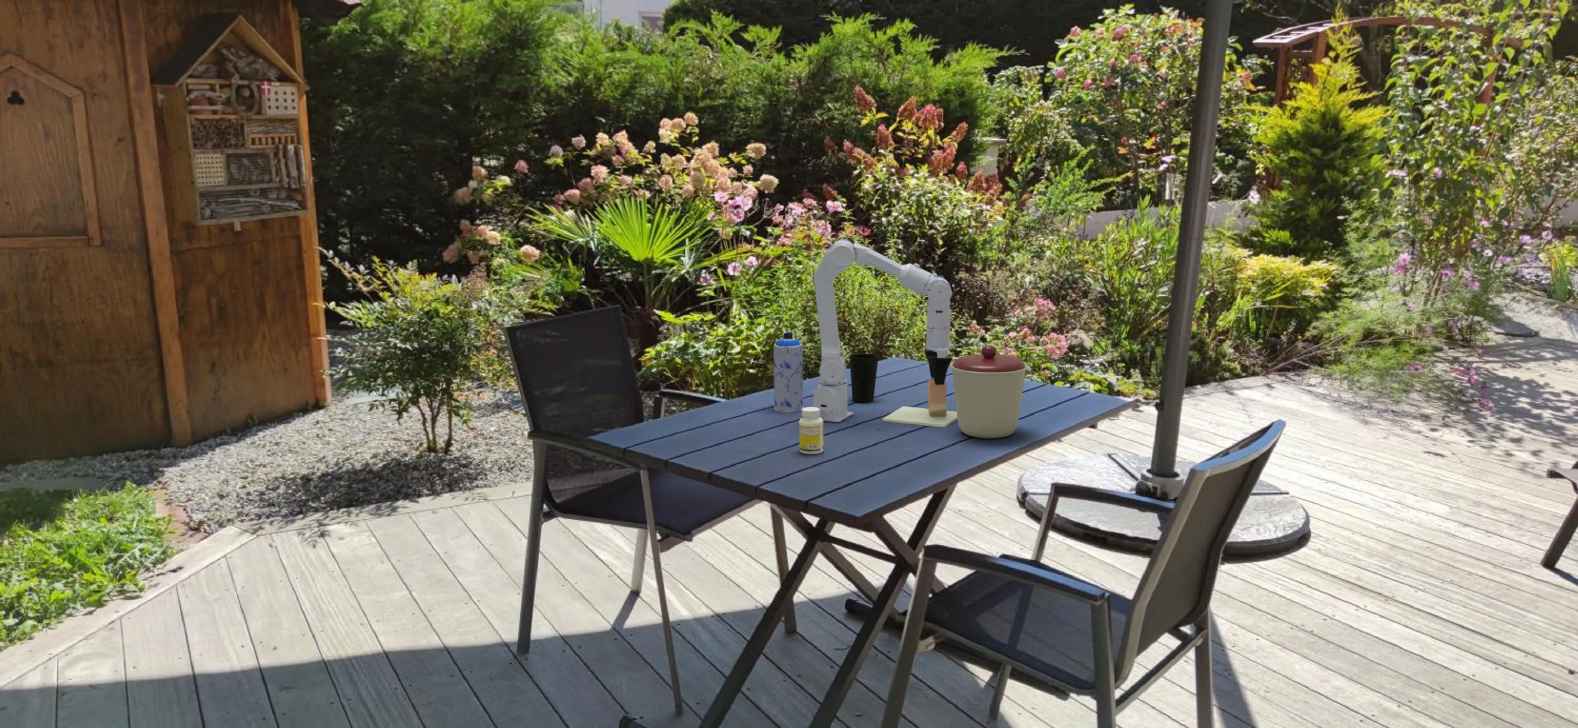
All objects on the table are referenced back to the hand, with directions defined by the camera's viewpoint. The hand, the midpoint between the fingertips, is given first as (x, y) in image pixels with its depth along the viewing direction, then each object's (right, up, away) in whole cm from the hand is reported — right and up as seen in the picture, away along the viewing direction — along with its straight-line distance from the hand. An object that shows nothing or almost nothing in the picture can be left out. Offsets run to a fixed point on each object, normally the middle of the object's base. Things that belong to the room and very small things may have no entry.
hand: (937, 381), depth 281 cm
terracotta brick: (0, -5, +1) cm, 5 cm away
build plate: (-3, -9, +1) cm, 10 cm away
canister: (+10, -12, -14) cm, 21 cm away
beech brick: (0, -8, +2) cm, 9 cm away
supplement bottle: (-32, -16, -27) cm, 45 cm away
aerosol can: (-37, -8, +13) cm, 40 cm away
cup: (-17, -6, +20) cm, 27 cm away
